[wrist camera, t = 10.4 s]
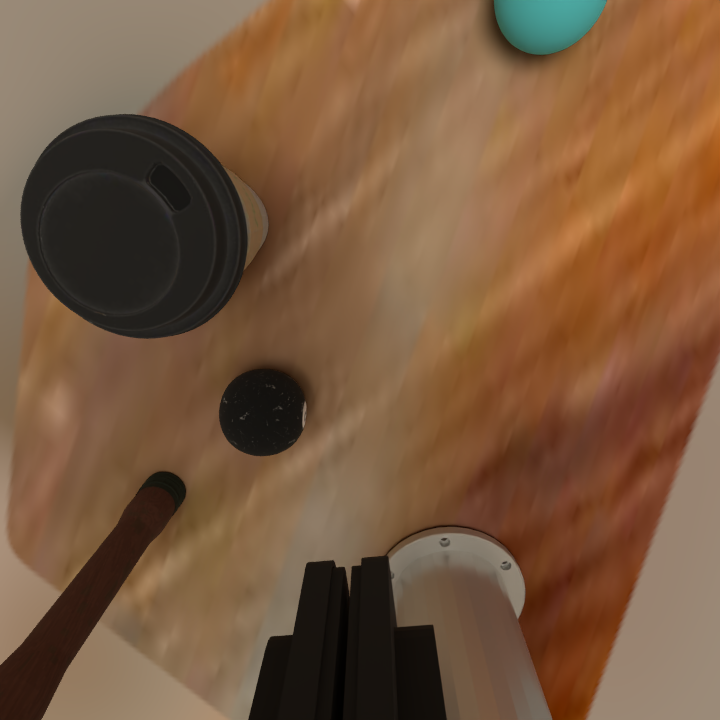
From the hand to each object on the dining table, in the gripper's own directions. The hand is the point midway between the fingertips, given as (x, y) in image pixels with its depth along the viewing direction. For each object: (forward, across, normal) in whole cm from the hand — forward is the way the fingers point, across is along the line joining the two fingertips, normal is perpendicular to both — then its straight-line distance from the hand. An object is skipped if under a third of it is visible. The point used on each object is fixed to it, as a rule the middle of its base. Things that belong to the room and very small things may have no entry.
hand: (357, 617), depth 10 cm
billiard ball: (+27, +8, +5) cm, 29 cm away
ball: (+24, -12, -18) cm, 32 cm away
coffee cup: (+27, +9, -8) cm, 30 cm away
